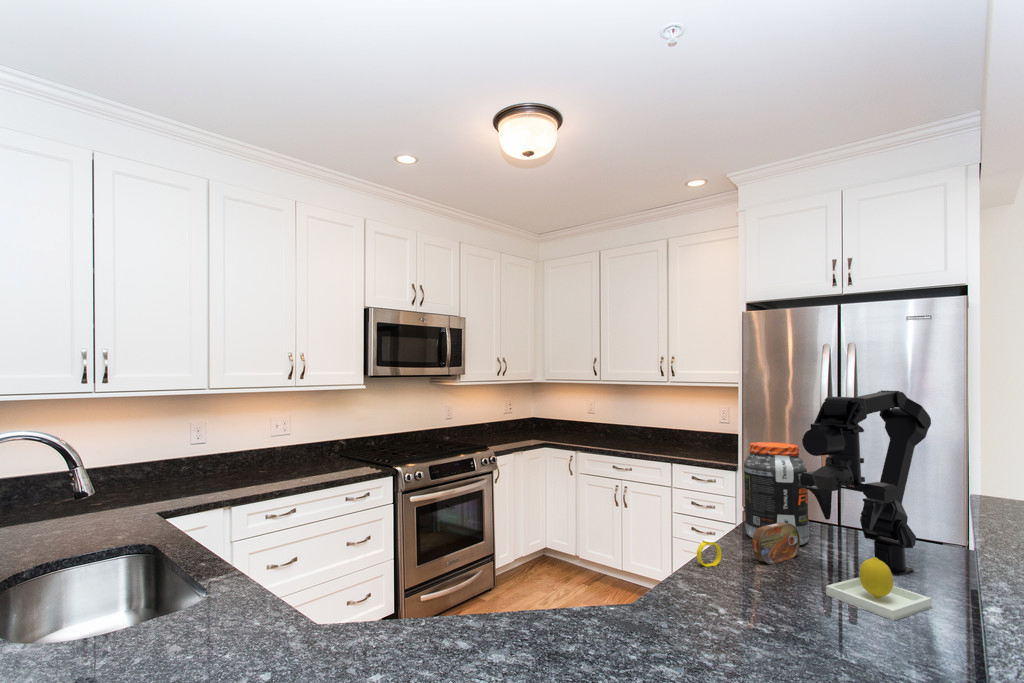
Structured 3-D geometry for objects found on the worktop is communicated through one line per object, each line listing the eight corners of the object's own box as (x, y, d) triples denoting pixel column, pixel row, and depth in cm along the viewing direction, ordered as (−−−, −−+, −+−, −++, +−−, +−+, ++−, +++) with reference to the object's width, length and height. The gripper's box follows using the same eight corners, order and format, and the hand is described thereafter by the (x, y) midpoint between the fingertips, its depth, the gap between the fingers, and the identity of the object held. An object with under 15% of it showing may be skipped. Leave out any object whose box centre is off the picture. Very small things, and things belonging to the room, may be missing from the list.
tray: (864, 584, 111) (863, 575, 112) (931, 607, 100) (931, 598, 100) (826, 594, 106) (825, 585, 106) (893, 620, 95) (893, 610, 95)
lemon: (900, 605, 100) (897, 563, 100) (868, 603, 101) (866, 561, 102) (885, 593, 105) (883, 553, 106) (855, 591, 106) (853, 551, 107)
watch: (715, 563, 125) (716, 538, 125) (723, 567, 122) (724, 541, 123) (694, 564, 123) (695, 538, 124) (701, 568, 121) (702, 542, 121)
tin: (761, 566, 122) (760, 530, 123) (750, 562, 125) (749, 527, 125) (801, 556, 129) (800, 522, 130) (789, 552, 132) (788, 519, 132)
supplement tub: (809, 552, 132) (805, 449, 134) (742, 542, 140) (739, 445, 142) (809, 535, 146) (806, 443, 148) (749, 527, 154) (746, 439, 156)
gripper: (782, 450, 121) (785, 518, 120) (866, 461, 104) (870, 541, 103) (813, 447, 125) (816, 513, 124) (898, 458, 109) (902, 534, 107)
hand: (847, 524), depth 115 cm, fingers open, 9 cm apart
